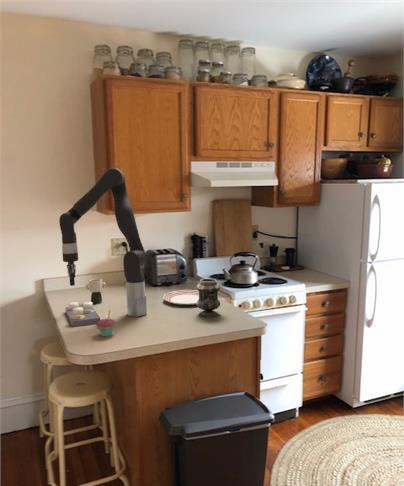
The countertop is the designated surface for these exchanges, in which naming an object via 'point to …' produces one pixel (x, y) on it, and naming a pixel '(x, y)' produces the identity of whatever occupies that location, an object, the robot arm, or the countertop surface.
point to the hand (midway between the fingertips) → (72, 285)
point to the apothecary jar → (208, 297)
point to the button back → (73, 305)
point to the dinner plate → (182, 297)
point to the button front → (77, 311)
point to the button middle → (87, 305)
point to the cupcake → (106, 326)
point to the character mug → (95, 289)
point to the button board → (82, 317)
